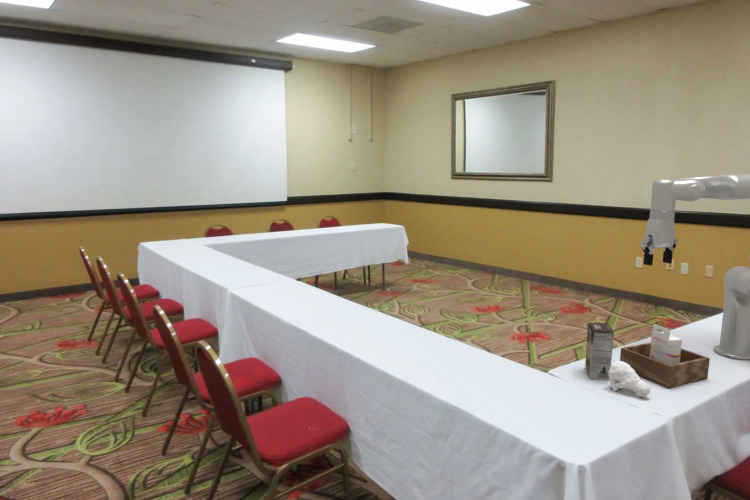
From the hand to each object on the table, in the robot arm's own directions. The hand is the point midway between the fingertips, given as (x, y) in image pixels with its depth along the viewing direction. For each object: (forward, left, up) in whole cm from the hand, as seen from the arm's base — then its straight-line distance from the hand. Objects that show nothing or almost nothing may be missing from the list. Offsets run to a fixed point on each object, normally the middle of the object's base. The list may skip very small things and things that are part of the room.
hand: (657, 263), depth 188 cm
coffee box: (+34, +8, -32) cm, 48 cm away
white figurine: (+36, +22, -33) cm, 53 cm away
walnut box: (+14, +16, -32) cm, 39 cm away
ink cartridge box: (+14, +16, -32) cm, 38 cm away
